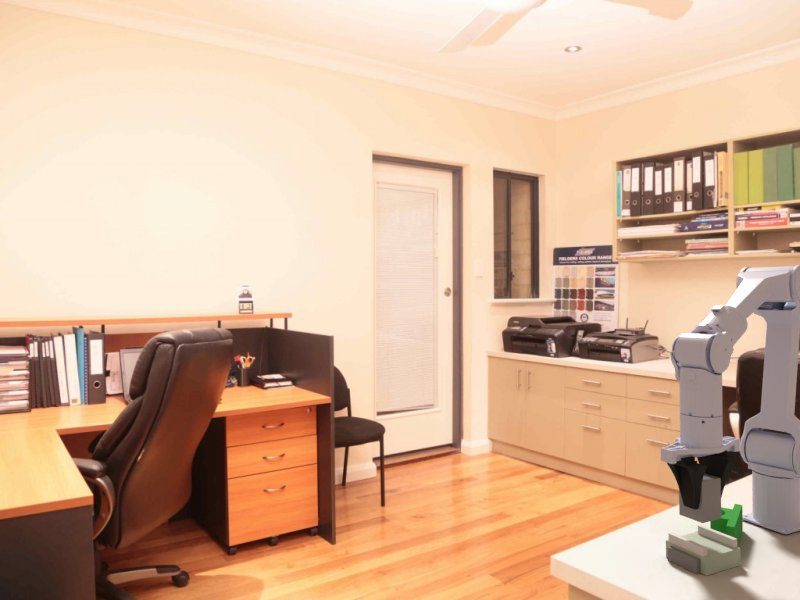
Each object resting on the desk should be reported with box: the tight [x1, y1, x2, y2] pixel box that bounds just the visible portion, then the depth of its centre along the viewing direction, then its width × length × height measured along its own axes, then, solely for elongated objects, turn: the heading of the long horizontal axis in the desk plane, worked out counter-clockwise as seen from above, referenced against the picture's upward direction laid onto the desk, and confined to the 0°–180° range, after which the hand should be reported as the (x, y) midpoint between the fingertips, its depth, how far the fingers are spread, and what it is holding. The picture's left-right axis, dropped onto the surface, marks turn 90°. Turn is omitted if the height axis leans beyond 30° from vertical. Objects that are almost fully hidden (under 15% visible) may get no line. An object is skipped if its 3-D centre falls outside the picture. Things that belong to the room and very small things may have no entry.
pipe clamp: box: [709, 503, 744, 547], centre depth 98 cm, size 11×4×5 cm, turn 145°
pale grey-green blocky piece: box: [665, 524, 742, 577], centre depth 91 cm, size 8×7×4 cm
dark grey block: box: [677, 473, 722, 524], centre depth 92 cm, size 4×5×6 cm
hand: (701, 504), depth 91 cm, fingers closed on dark grey block, 4 cm apart
